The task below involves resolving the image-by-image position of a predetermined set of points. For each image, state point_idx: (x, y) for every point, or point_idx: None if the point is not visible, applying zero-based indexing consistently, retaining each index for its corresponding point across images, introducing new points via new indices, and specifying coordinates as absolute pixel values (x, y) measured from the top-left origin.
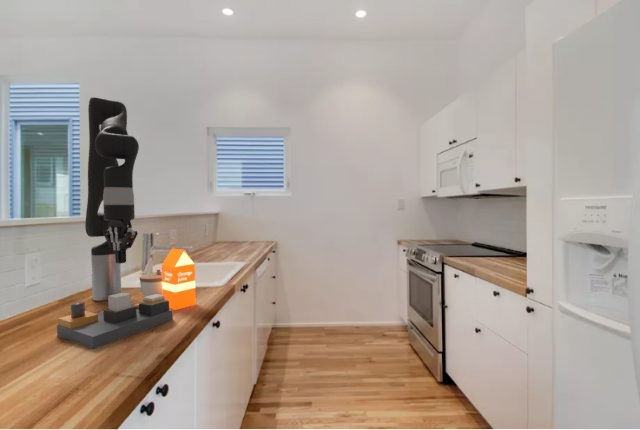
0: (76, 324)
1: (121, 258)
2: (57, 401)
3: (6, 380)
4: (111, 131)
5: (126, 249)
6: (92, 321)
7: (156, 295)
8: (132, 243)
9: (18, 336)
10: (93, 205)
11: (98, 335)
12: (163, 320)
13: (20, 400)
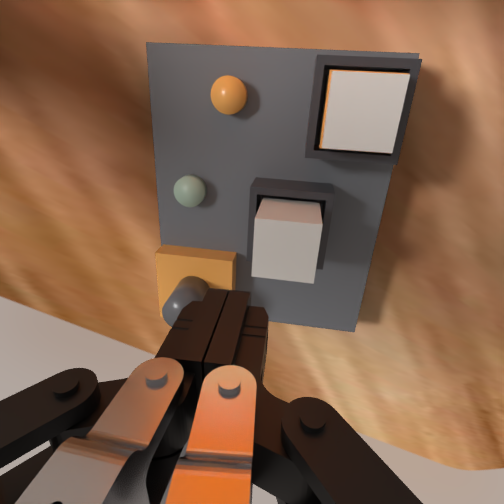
0: None
1: (265, 359)
2: (485, 436)
3: None
4: None
5: (245, 374)
6: (235, 268)
7: (362, 93)
8: (389, 474)
9: (99, 317)
10: None
11: (356, 319)
12: None
13: (419, 443)
